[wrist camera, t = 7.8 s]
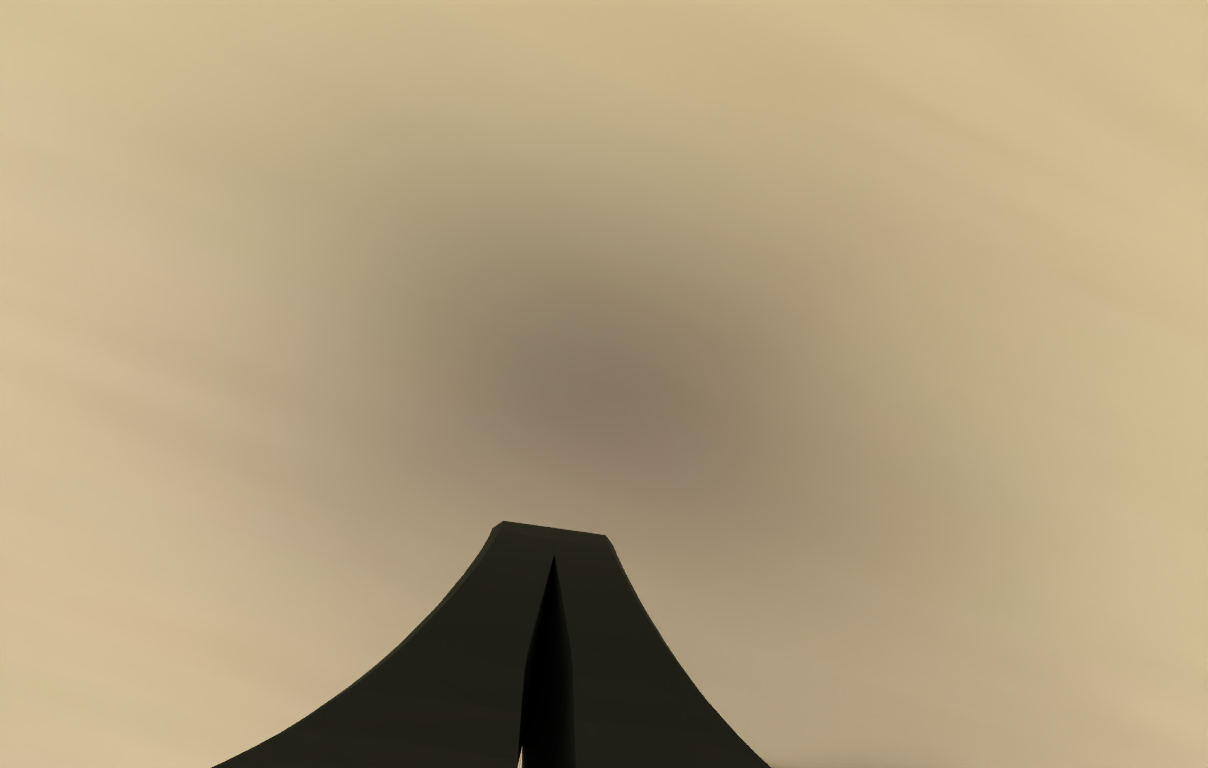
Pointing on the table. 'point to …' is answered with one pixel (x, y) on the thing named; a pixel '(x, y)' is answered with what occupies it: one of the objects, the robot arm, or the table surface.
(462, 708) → the robot arm
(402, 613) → the table surface
